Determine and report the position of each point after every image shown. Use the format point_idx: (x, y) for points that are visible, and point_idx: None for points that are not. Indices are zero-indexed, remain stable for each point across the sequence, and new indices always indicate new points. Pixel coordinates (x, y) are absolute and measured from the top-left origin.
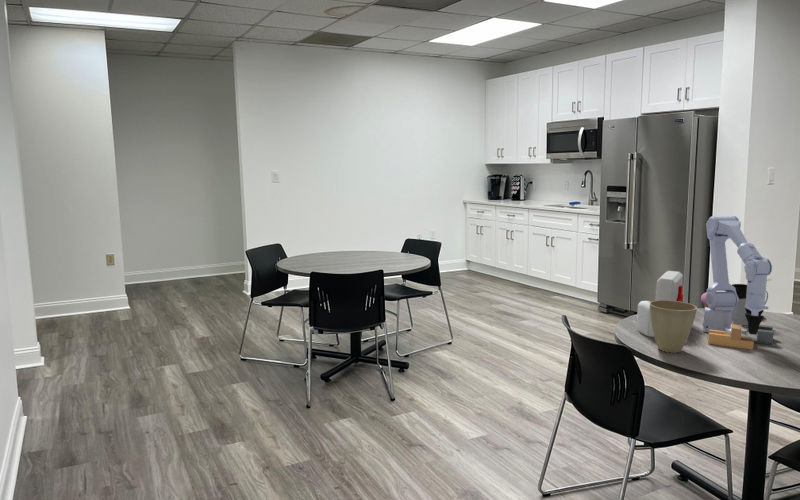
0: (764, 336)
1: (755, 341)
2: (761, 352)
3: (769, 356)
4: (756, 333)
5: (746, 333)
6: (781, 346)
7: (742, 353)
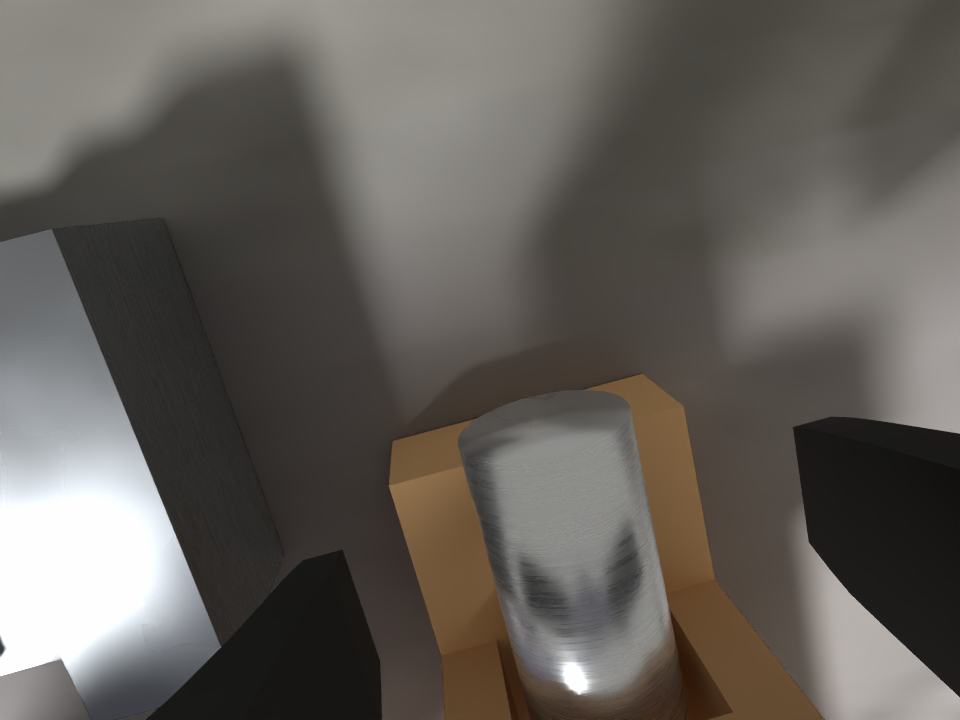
0: (160, 368)
1: (240, 454)
2: (715, 245)
3: (855, 103)
4: (855, 423)
5: (661, 601)
6: (132, 76)
7: (917, 423)
